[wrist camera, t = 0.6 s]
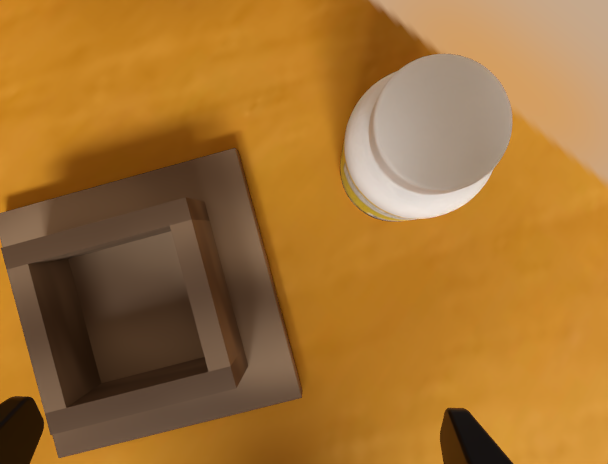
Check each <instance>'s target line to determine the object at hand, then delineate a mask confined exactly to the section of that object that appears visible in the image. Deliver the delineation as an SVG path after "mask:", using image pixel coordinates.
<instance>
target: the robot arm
mask: <svg viewBox="0 0 608 464" xmlns="http://www.w3.org/2000/svg"><path fill="white" fill-rule="evenodd" d="M43 428H44V420H43V418H42V416H41V414H40V411H39V409H38V407H37V405H36V403H35V401H34V399H33V398H31V397H20V396H15V397H11V398H9V399H7V400H6V401H4V402H3V403H1V404H0V464H30V462H31V459H32V457H33V454H34V452H35V449H36V447H37V445H38V442H39V440H40V437H41V435H42V432H43ZM440 444H441V450H442V456H443V462H444V464H513V463H512V462H511V460H510V459H509V458H508V457H507V456H506V455H505V453H504V452H503V451H502V450H501V449H500V447H499V446H498V445H497V444H496V443H495V442H494V440H493V439H492V438H491V437H490V436H489V435H488V433H487V432H486V431H485V430H484V429H483V428H482V426H481V425H480V424H479V423H478V422H477V420H476V419H475V418H474V417H473V416H472V415H471V413H470V412H469V411H468V410H466V409H464V408H447V409H446V410H445V413H444V418H443V422H442V427H441V431H440Z"/></svg>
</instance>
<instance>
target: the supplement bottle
mask: <svg viewBox="0 0 608 464" xmlns="http://www.w3.org/2000/svg"><path fill="white" fill-rule="evenodd" d="M511 132H512V110H511V105H510V102H509V99H508V97H507V94H506V92H505V90H504V88H503V86H502V85H501V83H500V81H499V80H498V79H497V78H496V77H495V76H494V75H493V74H492V73H491V72H490V71H489V70H488V69H487V68H486V67H484V66H483V65H481V64H480V63H478V62H476V61H474V60H472V59H469V58H466V57H463V56H460V55H453V54H435V55H429V56H425V57H422V58H419V59H417V60H414V61H412V62H410V63H408V64H407V65H405V66H404V67H402V68H401V69H399V70H398V71H396V72H394V73H392V74H390V75H388V76H386V77H384V78H382V79H381V80H379V81H378V82H376V83H375V84H374V85H373V86H371V87H370V88H369V89H368V90H367V91H366V92H365V94H364V95H363V96H362V97H361V98H360V100H359V101H358V103H357V104H356V106H355V108H354V110H353V111H352V114H351V116H350V119H349V121H348V124H347V127H346V131H345V138H344V143H343V148H342V154H341V160H340V175H341V180H342V184H343V187H344V189H345V191H346V193H347V195H348V197H349V198H350V200H351V201H352V202H353V203H354V204H355V205H356V206H357V207H358V208H359V209H360V210H361V211H363V212H364V213H366V214H367V215H369V216H371V217H373V218H376V219H380V220H384V221H407V220H415V219H425V218H432V217H436V216H440V215H444V214H446V213H449V212H451V211H454V210H456V209H458V208H459V207H461V206H463V205H464V204H466V203H467V202H468V201H470V200H471V199H472V198H473V197H474V196H475V195H476V194H477V193H478V192H479V191H480V190H481V189H482V188H483V186H484V185H485V184H486V182H487V180H488V179H489V177H490V175H491V173H492V171H493V169H494V167H495V166H496V165H497V164H498V162H499V161H500V160H501V158H502V156H503V154H504V153H505V151H506V149H507V146H508V144H509V140H510V137H511Z"/></svg>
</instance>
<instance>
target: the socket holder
mask: <svg viewBox="0 0 608 464" xmlns="http://www.w3.org/2000/svg"><path fill="white" fill-rule="evenodd" d="M0 239H1V243H2V247H3V248H1V250H2V253H3V257H4V261H5V265H6V269H7V272H8V276H9V280H10V284H11V287H12V291H13V295H14V299H15V302H16V306H17V310H18V314H19V317H20V321H21V325H22V329H23V332H24V336H25V340H26V344H27V348H28V351H29V355H30V359H31V363H32V366H33V370H34V374H35V378H36V381H37V385H38V389H39V393H40V396H41V400H42V404H43V408H44V412H45V415H46V419H47V423H48V427H49V430H50V434H51V435H53V439H54V442H55V446H56V450H57V454H58V458H62V457H66V456H70V455H74V454H78V453H82V452H86V451H90V450H94V449H98V448H102V447H106V446H110V445H114V444H118V443H122V442H126V441H130V440H134V439H138V438H142V437H146V436H150V435H154V434H158V433H162V432H166V431H170V430H174V429H178V428H182V427H186V426H190V425H194V424H198V423H202V422H206V421H210V420H214V419H218V418H222V417H226V416H230V415H234V414H238V413H242V412H246V411H250V410H254V409H258V408H262V407H266V406H270V405H274V404H278V403H283V402H287V401H291V400H295V399H299V398H302V388H301V384H300V381H299V377H298V373H297V369H296V366H295V362H294V358H293V354H292V351H291V347H290V343H289V339H288V336H287V332H286V328H285V324H284V321H283V317H282V313H281V309H280V306H279V302H278V298H277V294H276V291H275V287H274V283H273V279H272V276H271V272H270V268H269V264H268V261H267V257H266V253H265V249H264V246H263V242H262V238H261V234H260V231H259V227H258V223H257V219H256V216H255V212H254V208H253V204H252V201H251V197H250V193H249V189H248V186H247V182H246V178H245V174H244V171H243V167H242V163H241V159H240V156H239V152H238V150H237V149H236V148H233V149H229V150H226V151H222V152H219V153H215V154H211V155H208V156H204V157H201V158H197V159H193V160H190V161H186V162H183V163H179V164H175V165H172V166H168V167H165V168H161V169H157V170H154V171H150V172H147V173H143V174H139V175H136V176H132V177H129V178H125V179H121V180H118V181H114V182H111V183H107V184H104V185H100V186H96V187H93V188H89V189H86V190H82V191H78V192H75V193H71V194H68V195H64V196H60V197H57V198H53V199H50V200H46V201H42V202H39V203H35V204H32V205H28V206H24V207H21V208H17V209H14V210H10V211H6V212H3V213H0Z"/></svg>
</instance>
